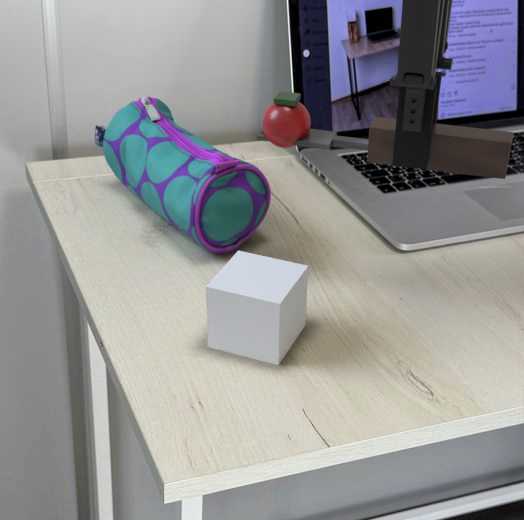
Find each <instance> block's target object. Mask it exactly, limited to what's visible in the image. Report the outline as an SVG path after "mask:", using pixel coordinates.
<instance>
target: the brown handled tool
mask: <svg viewBox="0 0 524 520" xmlns="http://www.w3.org/2000/svg"><path fill="white" fill-rule="evenodd" d="M301 96H302V95H301V93H299V92H291V91H281V90H280V91H278V93H276V95H275V97H274V98H273V102H272V103H271V104H270V105H268V107H267V108H266V109H265V112H264V114H263V117H262V128H261V130H260V133H258V134H257V135H256V141H261V142H262V141H263V142H270V143H271V145H274V146H275V147H278V148H280V149H293V148H296V147H302V148H303V147H304V148H311V149H318V150H325V151H329V150H330V149H331V148H332V147H336V148H343V149H351V150H359V151H367V155H366V162H367V163H370V164H371V163H372V164H379V165H386V166H387V165H388V166H393V165H392V161H393V151H394V140H395V129H396V118H392V117H391V118H389V117H381V116H374V118H373V120H372V122H371V123H370V126H369V129H368V138H360V137H351V136H343V135H338V132H337V131H334V130H333V131H332V130H326V129H325V130H324V129H318V128H317V129H315V128H311V126H312V120H311V115H310V113H309V111H308V109H307V107H305V105H304V104H302V102H300V101H301ZM513 139H514V132H513V131H506V130H499V129H497V130H496V129H488V128H480V127H471V126H461V125H452V124H444V123H437V122H436V123H432V131H431V139H430V147H429V156H428V164H427V168H426V169H425V170H428V171H434V172H435V171H436V172H444V173H453V174H461V175H468V176H475V177H482V178H483V177H485V178H493V179H501V180H505V179H506V177H507V172H508V167H509V161H510V154H511V150H512V143H513Z"/></svg>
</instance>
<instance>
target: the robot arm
mask: <svg viewBox="0 0 524 520" xmlns="http://www.w3.org/2000/svg"><path fill="white" fill-rule="evenodd" d="M453 2H454V1H453V0H402V4H401V18H400V30H399V31H400V33H399V46H398V58H397V59H398V60H397V72H396V74H395V75H391V76H390V78H389V86H390V87H398V99H397V109H396V118H395V119H396V129H395V140H394V151H393V161H392V165H391V166H395V167H402V168H411V169H418V170H427V169H426V168H427V164H428V156H429V147H430V139H431V131H432V123H436V124H437V120H438V112H439V111H438V109H439V102H440V93H441V86H442V78H443V77H442V76H443V71H437V70H446V71H451V70H452V68H453V62H454V58H449V57H445V56H444V55H445V54H446V53H447V50H448V49H449V42H448V39H449V31H450V23H451V16H452V10H453V9H452V7H453Z"/></svg>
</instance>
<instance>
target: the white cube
mask: <svg viewBox="0 0 524 520" xmlns="http://www.w3.org/2000/svg"><path fill="white" fill-rule="evenodd" d="M308 280H309V265H308V264H303V263H298V262H293V261H288V260H284V259H279V258H275V257H271V256H267V255H261V254H257V253H251V252H247V251H243V250H237V251H236V253H234V255H233V256H232V257H231V258H230V259H229V260H228V261H227V262H226V263H225V264H224V265H223V266H222V268H220V270H219V271H218V272H217V273H216V274H215V276H214V277H213V278H212V279H211V280H210V281H209V283H208V284H207V285H205V298H206V299H205V300H206V301H205V302H206V330H207V331H206V332H207V334H206V335H207V348H209V349H214V350H217V351H221V352H225V353H229V354H233V355H236V356H240V357H245V358H249V359H252V360H256V361H259V362H260V361H261V362H264V363H268V364H272V365H276V366H279V365H280V363H281V362H282V361H283V359H284V357H285V356H286V355H287V354H288V352H289V350H290V349H291V348H292V346H293V344H294V343H295V342H296V340H297V338H298V337H299V335H300V334H301V333H302V331H303V329H304V328H305V327H306V322H307V303H308V302H307V301H308V284H309V283H308V282H309V281H308Z"/></svg>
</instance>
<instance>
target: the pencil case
mask: <svg viewBox="0 0 524 520" xmlns="http://www.w3.org/2000/svg"><path fill="white" fill-rule="evenodd" d="M172 114H173V113H172V112H171V109H170V108H169V106H168V105H167V104H166V103H165V102H164V101H162V100H161V99H159V98H158V97H151V96H150V95H148V96H147V95H144V96H143V97H139V98H138V100H135V101H134V100H132V101H131V102H129V103H128V104H127V105H124V106H123V107H121V108H120V109H119V110H117V111H116V112H115V114H114V115H113V116H112V118H111V120H110V121H109V123H108V125H107V127H106V126H104V125H95V127H94V144H95V145H96V146H97V147H99V148H102V150H103V155H104V159H105V162H106V164H107V165H108V167H109V168H110V170H111V171H112V173H113V174H114V176H115V177H116V178H117V179H118V181H119V182H121V184H122V185H124V186H125V187H126V188H127V189H128V190H129V192H131V193H133V195H135V196H136V197H137V198H139V199H140V200H141V201H142V202H144V203H145V205H147V206H148V207H149V208H150V209H151V210H152V211H153V212H155V213H156V214H157V215H158V216H160V217H161V218H162V219H163V220H165V221H166V222H168V223H169V224H171V225H172V226H173V227H174V228H176V229H178V230H179V231H180V232H181V233H182V234H183V235H185V236H187V237H189V238H190V239H191V241H192V242H194V243H196V244H198V245H199V246H200V247H201V248H202V249H204V250H205V251H207V252H209V253H212V254H220V255H225V254H228V253H231V252H233V251H235V250H237V249H238V248H240V247H241V246H242V245H243V244H244V243H245V242H246V241H247V240H248V239H249V238H250V237H251V236H252V235H253V234H254V233H255V232H256V231H257V229H258V228H259V227H260V225H261V224H262V222H263V221H264V219H265V218H266V215H267V214H268V212H269V208H270V204H271V199H272V198H271V197H272V196H271V195H272V194H271V193H272V192H271V186H270V183H269V180H268V178H267V177H266V176H265V174H264V173H263V172H262V170H260V168H258V167H257V166H256V165H254V164H253V163H250V162H248V161H245V160H242V159H240V158H237V157H234V156H231V155H230V154H229V153H227V152H223V151H221V150H219V149H217V148H216V147H214V146H213V145H212V144H211V143H209V142H207V141H206V140H205V139H204V138H202V137H200V136H197V135H195V134H194V133H193V132H190V131H189V130H188V129H185V128H183V127H181V126H180V125H178V124H176V123H175V120H174V117H173V115H172Z"/></svg>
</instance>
